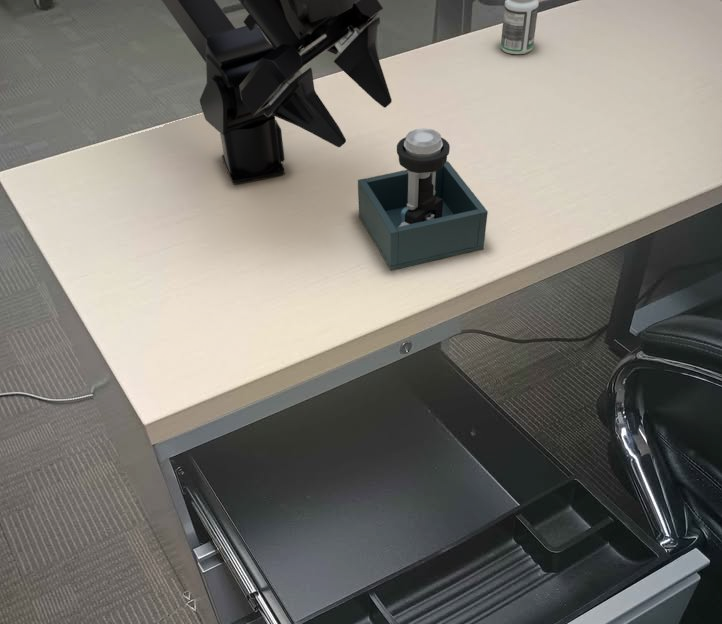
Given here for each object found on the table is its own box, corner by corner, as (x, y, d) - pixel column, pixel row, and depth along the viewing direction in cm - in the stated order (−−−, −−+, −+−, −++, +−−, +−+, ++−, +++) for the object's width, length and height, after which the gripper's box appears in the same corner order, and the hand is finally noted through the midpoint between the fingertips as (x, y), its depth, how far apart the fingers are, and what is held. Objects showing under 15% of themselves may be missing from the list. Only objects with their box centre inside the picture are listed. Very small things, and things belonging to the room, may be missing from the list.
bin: (390, 270, 80) (390, 233, 76) (358, 216, 86) (357, 179, 83) (483, 249, 82) (488, 211, 78) (445, 197, 88) (448, 160, 85)
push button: (416, 251, 81) (419, 162, 73) (378, 233, 83) (377, 145, 75) (454, 223, 84) (461, 134, 76) (416, 206, 86) (419, 118, 78)
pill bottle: (525, 39, 114) (533, -26, 107) (537, 52, 111) (547, -13, 104) (495, 43, 113) (501, -21, 106) (507, 57, 110) (514, -9, 103)
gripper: (247, -44, 62) (367, 122, 67) (364, -109, 72) (461, 40, 77) (190, 41, 71) (300, 182, 76) (301, -27, 80) (392, 102, 85)
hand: (366, 124), depth 78 cm, fingers open, 9 cm apart
